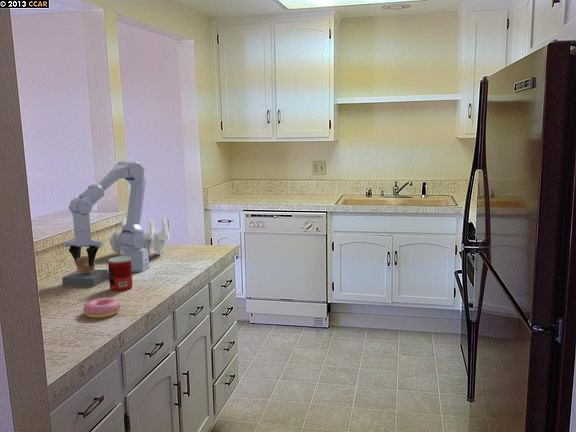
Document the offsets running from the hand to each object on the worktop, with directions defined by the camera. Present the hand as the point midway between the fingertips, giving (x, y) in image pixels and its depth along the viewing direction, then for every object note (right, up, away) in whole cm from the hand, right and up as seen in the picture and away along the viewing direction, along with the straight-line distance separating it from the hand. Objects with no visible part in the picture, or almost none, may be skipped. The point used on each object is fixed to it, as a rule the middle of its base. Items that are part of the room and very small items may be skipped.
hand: (85, 265), depth 194 cm
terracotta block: (0, -2, +1) cm, 2 cm away
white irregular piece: (+10, +1, +42) cm, 43 cm away
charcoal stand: (0, -6, +1) cm, 6 cm away
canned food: (+16, -8, -8) cm, 19 cm away
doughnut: (+18, -12, -33) cm, 39 cm away
